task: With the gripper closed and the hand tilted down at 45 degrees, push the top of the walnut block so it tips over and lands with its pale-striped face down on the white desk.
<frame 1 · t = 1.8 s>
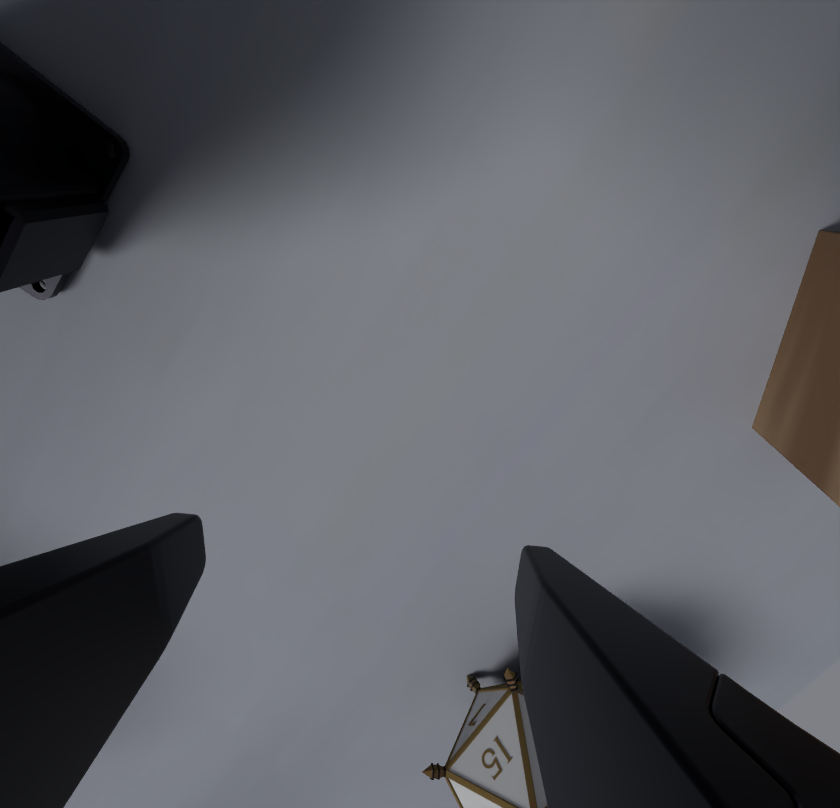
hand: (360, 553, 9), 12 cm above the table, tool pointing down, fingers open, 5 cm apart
game die: (528, 683, 27), on the table
walnut block: (827, 339, 19), on the table
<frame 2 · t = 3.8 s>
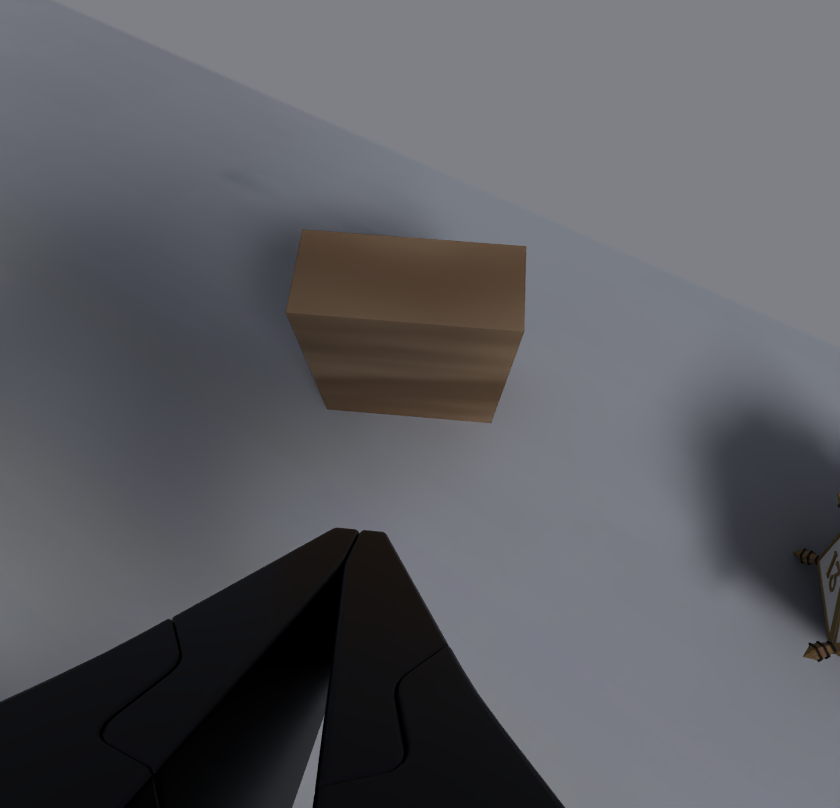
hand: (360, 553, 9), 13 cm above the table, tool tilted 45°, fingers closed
walnut block: (412, 383, 24), on the table
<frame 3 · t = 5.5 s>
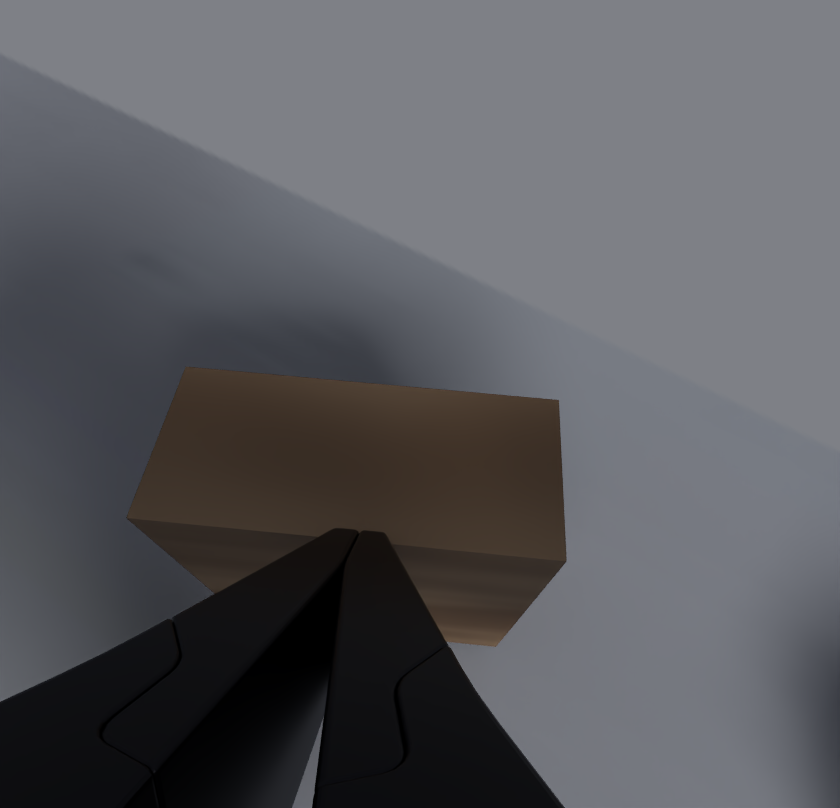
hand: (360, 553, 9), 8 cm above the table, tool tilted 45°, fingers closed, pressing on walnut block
walnut block: (377, 579, 16), on the table, tilted 10°, touching gripper
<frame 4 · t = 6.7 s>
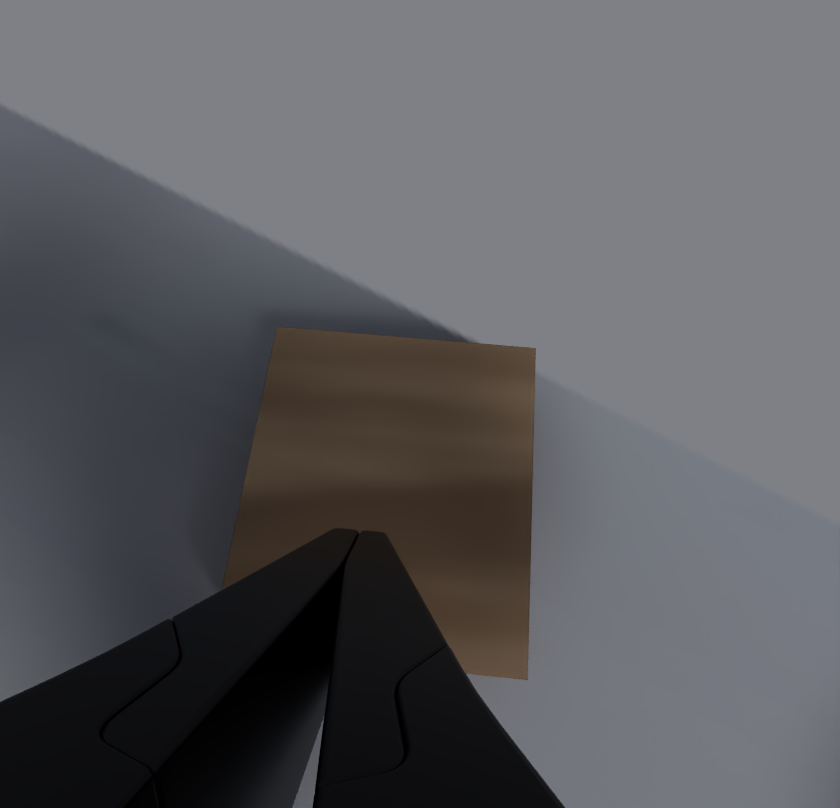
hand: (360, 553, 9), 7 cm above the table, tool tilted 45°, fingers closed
walnut block: (372, 658, 14), point 1 cm above the table, tilted 89°
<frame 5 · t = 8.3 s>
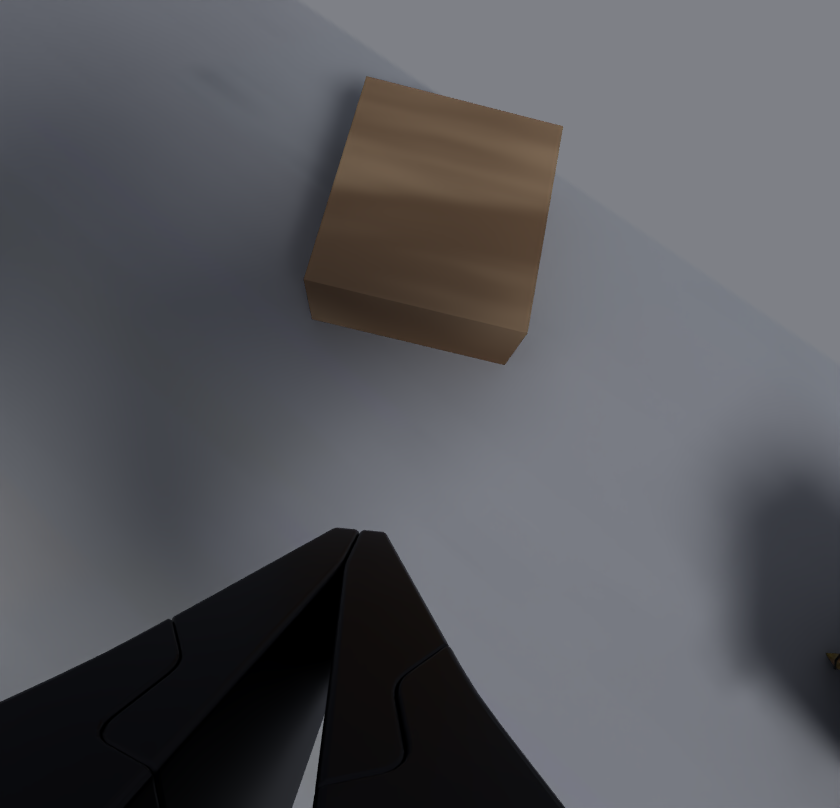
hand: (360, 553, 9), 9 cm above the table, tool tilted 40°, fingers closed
walnut block: (412, 326, 18), point 1 cm above the table, tilted 89°
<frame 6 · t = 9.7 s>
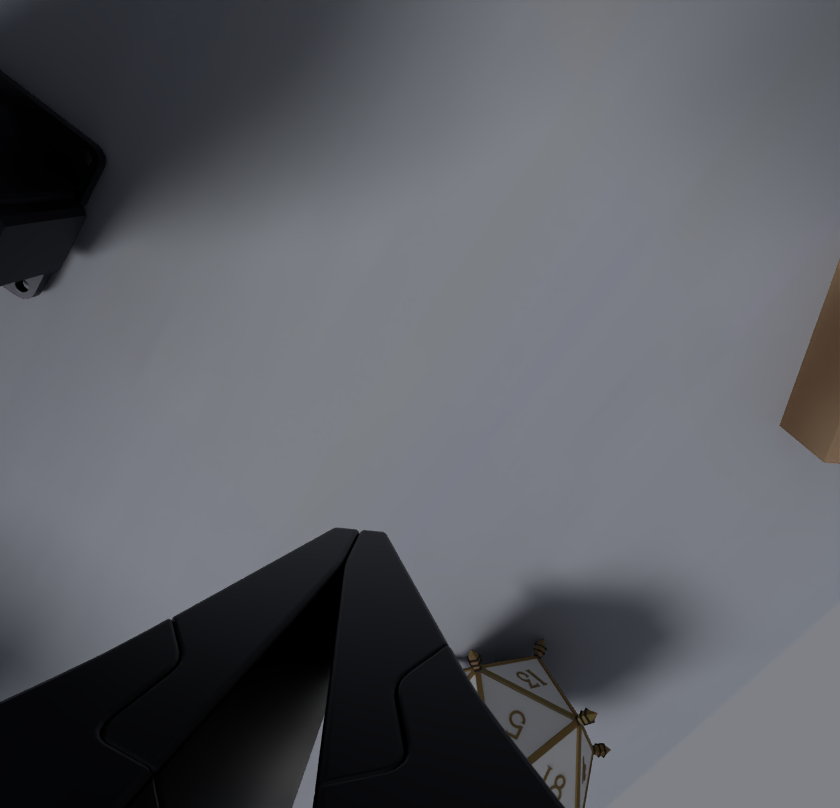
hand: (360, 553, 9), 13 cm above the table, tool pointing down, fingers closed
game die: (498, 668, 28), on the table
walnut block: (834, 350, 19), point 1 cm above the table, tilted 89°
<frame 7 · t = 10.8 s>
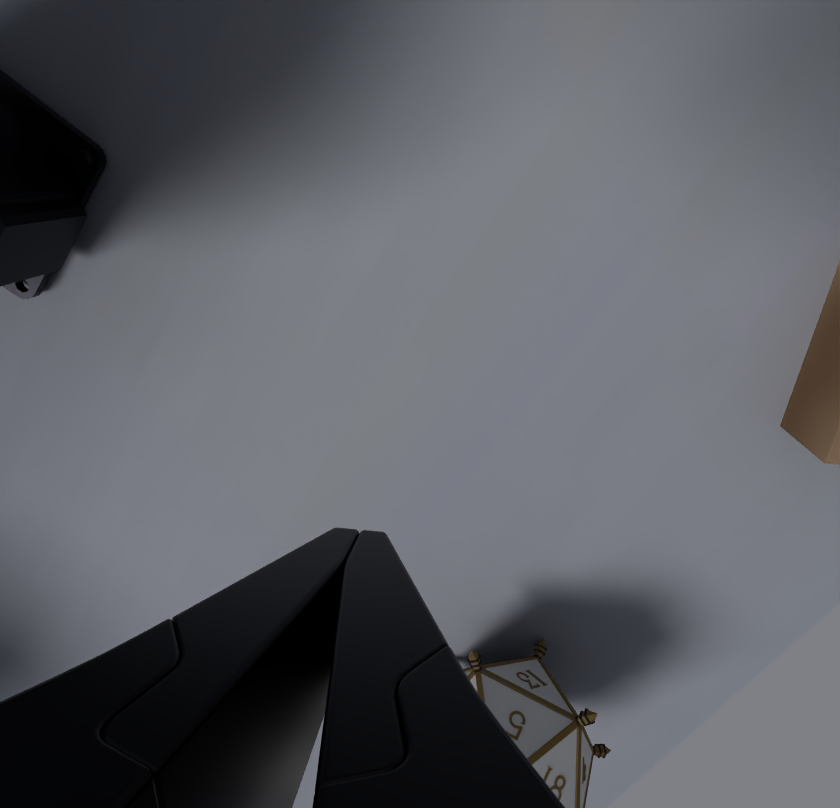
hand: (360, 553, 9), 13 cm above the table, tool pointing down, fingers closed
game die: (498, 668, 28), on the table
walnut block: (835, 350, 19), point 1 cm above the table, tilted 89°
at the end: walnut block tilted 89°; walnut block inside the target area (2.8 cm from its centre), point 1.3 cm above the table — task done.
